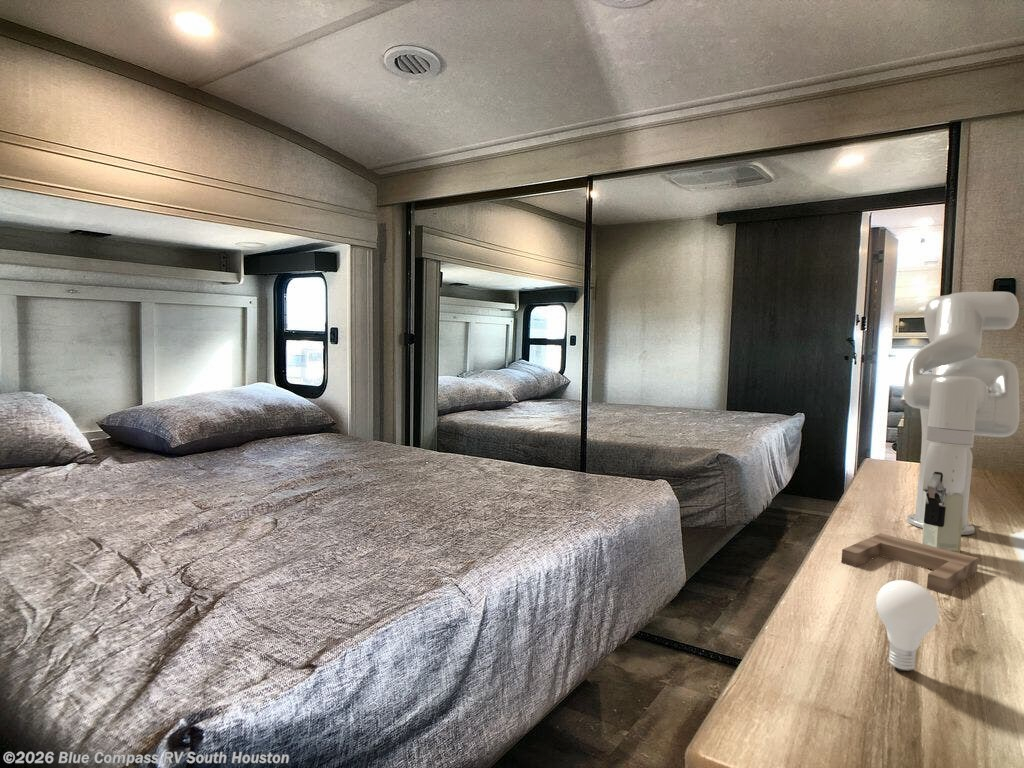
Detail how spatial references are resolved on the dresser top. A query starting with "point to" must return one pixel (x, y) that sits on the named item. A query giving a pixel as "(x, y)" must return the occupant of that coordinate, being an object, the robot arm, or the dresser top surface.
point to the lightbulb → (905, 619)
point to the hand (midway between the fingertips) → (941, 522)
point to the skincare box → (946, 526)
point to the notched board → (915, 559)
